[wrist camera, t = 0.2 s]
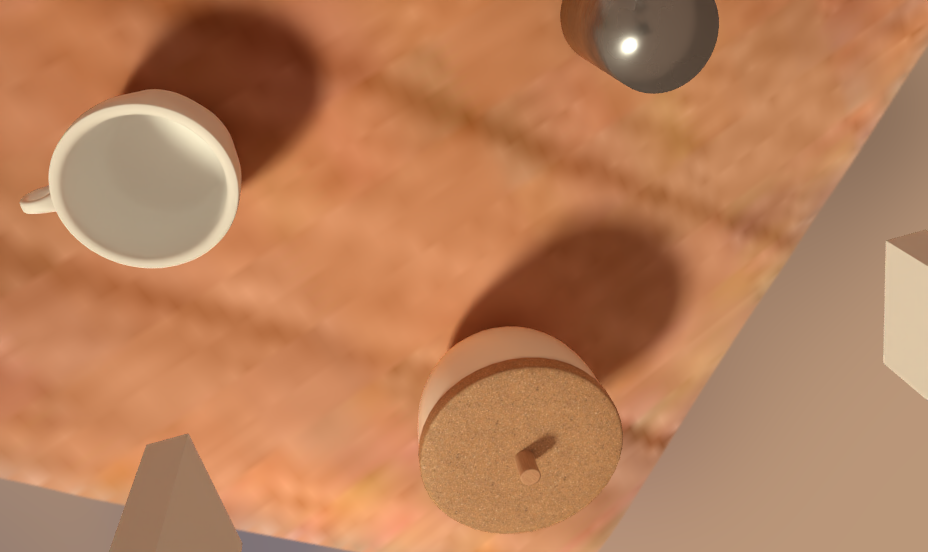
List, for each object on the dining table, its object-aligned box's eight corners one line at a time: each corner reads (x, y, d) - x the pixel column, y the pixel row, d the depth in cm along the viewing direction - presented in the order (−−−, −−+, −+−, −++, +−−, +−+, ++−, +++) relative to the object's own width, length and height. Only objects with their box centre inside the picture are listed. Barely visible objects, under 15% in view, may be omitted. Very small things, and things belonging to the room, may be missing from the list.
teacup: (222, 59, 37) (206, 83, 32) (269, 207, 41) (260, 248, 36) (11, 104, 37) (-37, 135, 32) (77, 250, 40) (42, 297, 35)
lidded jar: (492, 474, 50) (523, 588, 42) (369, 383, 46) (377, 490, 38) (617, 366, 48) (676, 464, 40) (500, 260, 44) (539, 345, 36)
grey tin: (552, -28, 38) (595, -13, 31) (651, -54, 38) (713, -45, 32) (569, 74, 40) (612, 106, 34) (663, 49, 40) (723, 76, 34)
